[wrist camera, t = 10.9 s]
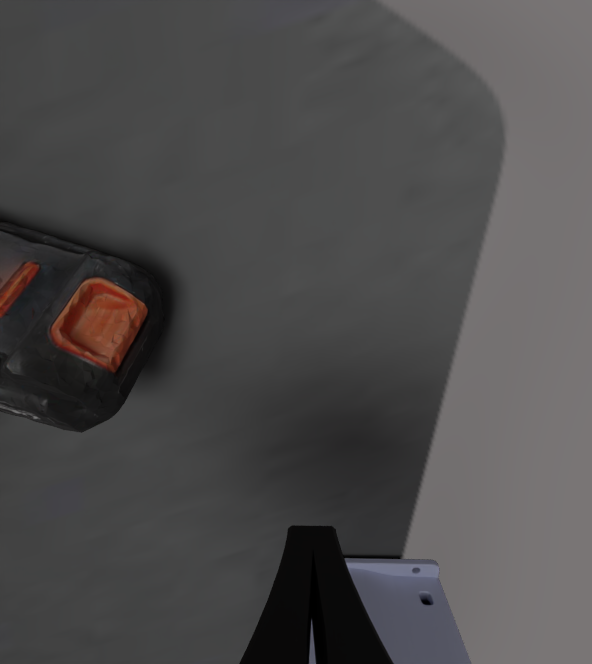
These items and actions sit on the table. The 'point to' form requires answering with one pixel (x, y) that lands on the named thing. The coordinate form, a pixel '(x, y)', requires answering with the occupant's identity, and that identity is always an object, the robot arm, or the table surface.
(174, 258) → the table surface
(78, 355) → the battery
